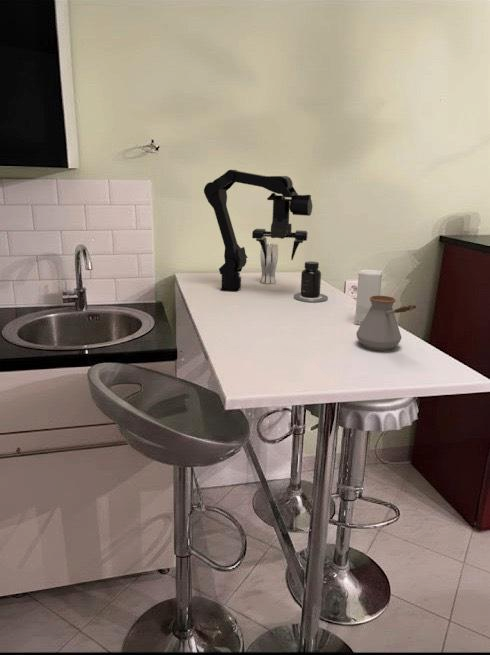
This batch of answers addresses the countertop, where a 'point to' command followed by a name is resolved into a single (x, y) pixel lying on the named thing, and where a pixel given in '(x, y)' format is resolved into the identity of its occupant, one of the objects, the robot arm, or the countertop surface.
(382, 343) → the coffee pot
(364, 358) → the countertop surface
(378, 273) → the skincare box
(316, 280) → the supplement bottle
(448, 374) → the countertop surface
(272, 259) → the beer glass
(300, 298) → the coaster
